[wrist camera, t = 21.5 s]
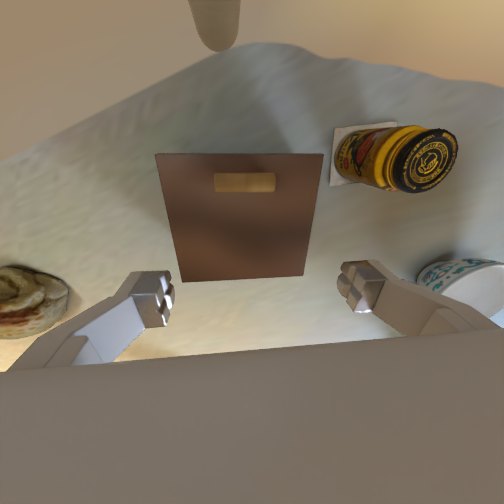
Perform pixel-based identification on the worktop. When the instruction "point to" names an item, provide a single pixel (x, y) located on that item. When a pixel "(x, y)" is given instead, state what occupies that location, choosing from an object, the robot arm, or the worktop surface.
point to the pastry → (29, 302)
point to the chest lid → (240, 212)
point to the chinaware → (468, 282)
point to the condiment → (392, 156)
